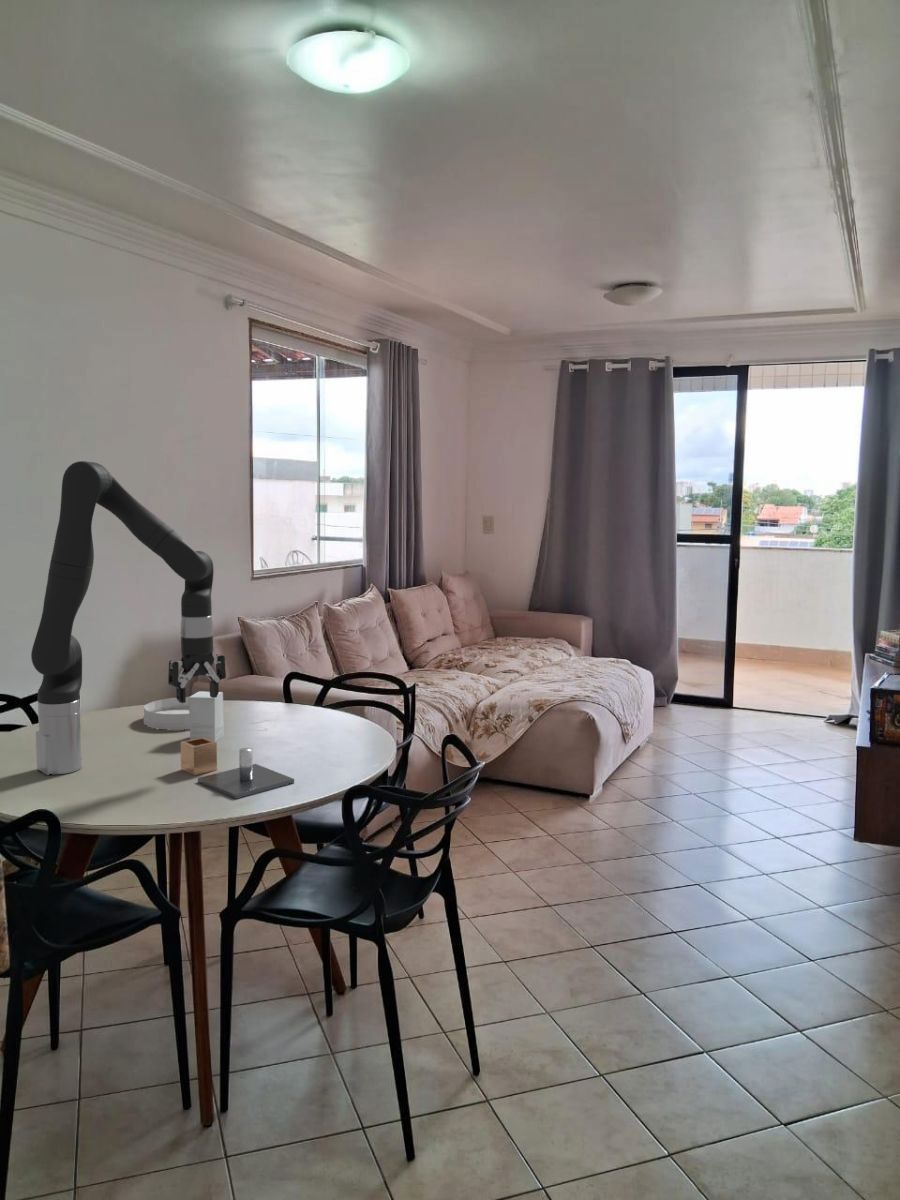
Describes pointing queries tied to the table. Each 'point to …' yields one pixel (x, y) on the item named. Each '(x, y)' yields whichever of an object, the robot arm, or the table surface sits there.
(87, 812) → the table surface
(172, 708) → the dish
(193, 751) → the wooden cubby box
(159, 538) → the robot arm
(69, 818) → the table surface
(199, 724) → the supplement box
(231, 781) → the grey square plate
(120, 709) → the table surface
